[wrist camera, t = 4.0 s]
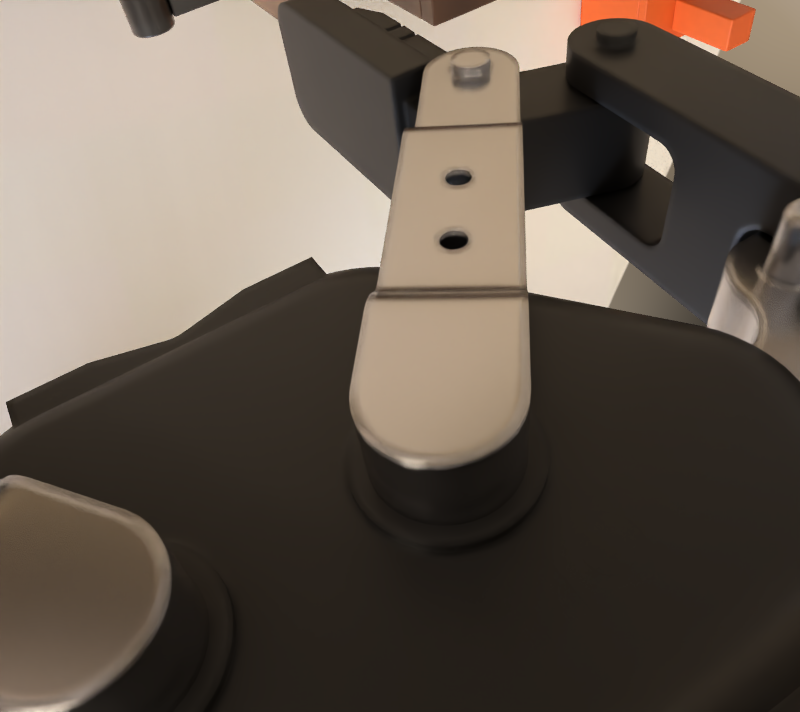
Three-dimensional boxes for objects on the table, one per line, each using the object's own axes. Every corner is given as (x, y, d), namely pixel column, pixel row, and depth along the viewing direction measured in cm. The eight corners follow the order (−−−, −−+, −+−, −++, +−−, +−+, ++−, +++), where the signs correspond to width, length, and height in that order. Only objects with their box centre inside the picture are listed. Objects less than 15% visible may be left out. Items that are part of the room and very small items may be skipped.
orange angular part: (579, 28, 40) (693, 81, 35) (582, -28, 38) (705, 19, 33) (653, -5, 42) (773, 40, 37) (660, -61, 40) (789, -21, 35)
